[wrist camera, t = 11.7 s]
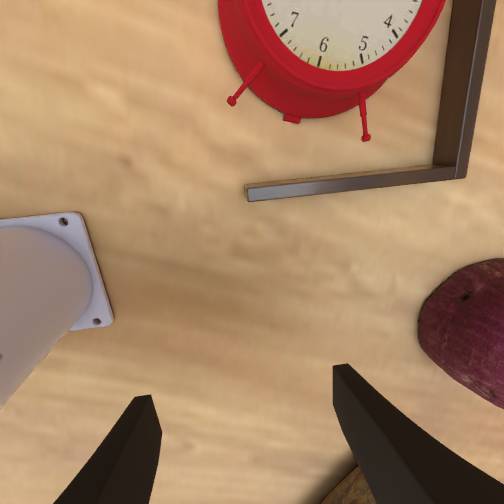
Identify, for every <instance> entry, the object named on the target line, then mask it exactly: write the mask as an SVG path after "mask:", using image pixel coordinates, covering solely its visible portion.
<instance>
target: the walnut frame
mask: <svg viewBox="0 0 504 504" xmlns="http://www.w3.org/2000/svg"><path fill="white" fill-rule="evenodd" d="M495 5H496V0H454V4H453V11H452V19H451V27H450V35H449V43H448V50H447V58H446V66H445V74H444V81H443V89H442V97H441V105H440V112H439V120H438V128H437V136H436V143H435V151H434V159H433V165H425V166H415V167H406V168H396V169H387V170H377V171H368V172H358V173H349V174H339V175H330V176H321V177H311V178H302V179H292V180H283V181H273V182H264V183H254V184H245V185H244V189H245V197H246V199H247V201H248V202H254V201H263V200H272V199H282V198H291V197H300V196H309V195H318V194H327V193H336V192H345V191H354V190H363V189H372V188H382V187H391V186H400V185H409V184H418V183H427V182H436V181H445V180H453V179H463V178H466V174H467V169H468V163H469V157H470V151H471V145H472V139H473V134H474V128H475V122H476V116H477V110H478V104H479V99H480V93H481V87H482V81H483V75H484V69H485V64H486V58H487V52H488V46H489V40H490V34H491V28H492V23H493V17H494V11H495Z"/></svg>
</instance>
